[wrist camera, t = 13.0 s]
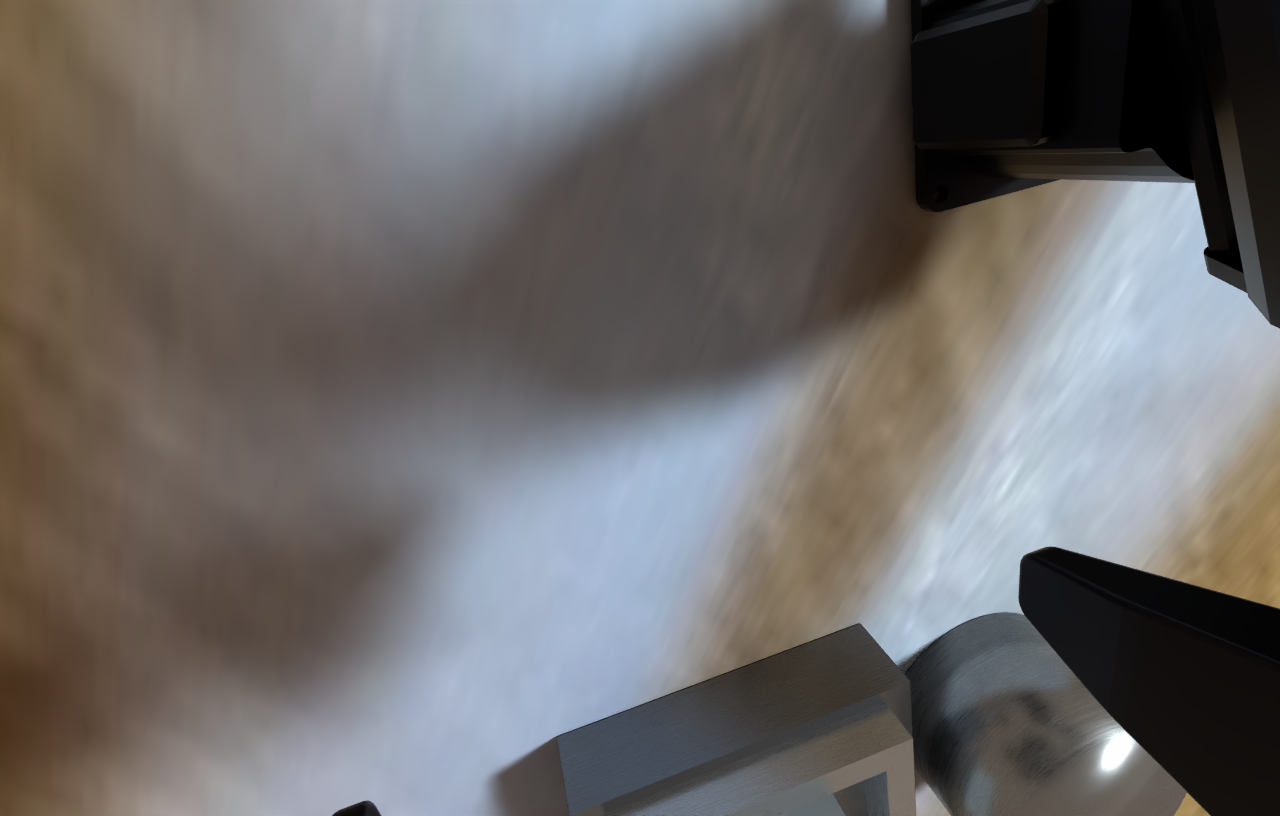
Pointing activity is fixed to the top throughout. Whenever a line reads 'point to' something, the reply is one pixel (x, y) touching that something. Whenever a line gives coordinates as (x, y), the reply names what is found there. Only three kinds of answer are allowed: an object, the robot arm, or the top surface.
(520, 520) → the top surface
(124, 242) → the top surface
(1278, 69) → the robot arm
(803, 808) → the block
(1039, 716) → the motor mount
